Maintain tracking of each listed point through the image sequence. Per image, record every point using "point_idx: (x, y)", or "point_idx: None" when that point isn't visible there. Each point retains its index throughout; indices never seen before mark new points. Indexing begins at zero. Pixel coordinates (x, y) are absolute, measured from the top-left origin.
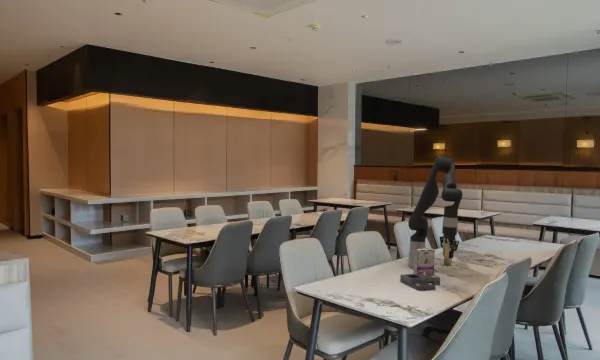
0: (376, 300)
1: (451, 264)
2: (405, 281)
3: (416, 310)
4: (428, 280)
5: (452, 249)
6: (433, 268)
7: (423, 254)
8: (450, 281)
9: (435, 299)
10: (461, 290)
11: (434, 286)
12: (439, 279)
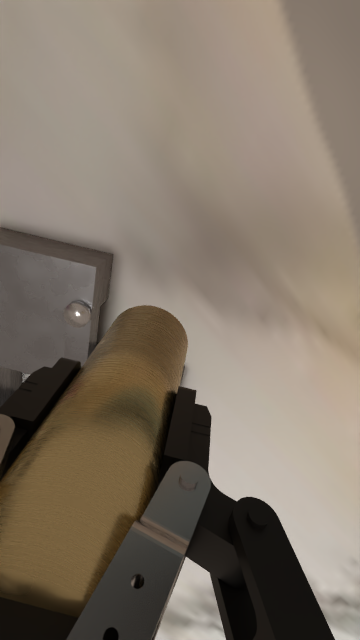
0: (188, 612)
1: (182, 334)
2: None
3: (336, 604)
4: (92, 347)
5: (237, 586)
6: None
7: None
8: (69, 97)
9: (295, 479)
10: (271, 232)
11: (180, 382)
12: (100, 269)
